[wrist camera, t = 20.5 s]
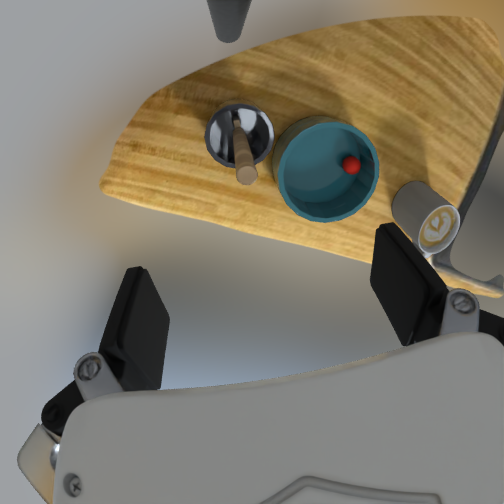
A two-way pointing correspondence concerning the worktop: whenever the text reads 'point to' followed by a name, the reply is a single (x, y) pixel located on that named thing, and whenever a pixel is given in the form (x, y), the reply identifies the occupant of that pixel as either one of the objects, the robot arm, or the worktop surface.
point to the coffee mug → (425, 217)
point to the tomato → (351, 165)
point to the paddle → (243, 155)
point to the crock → (250, 120)
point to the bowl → (324, 168)
